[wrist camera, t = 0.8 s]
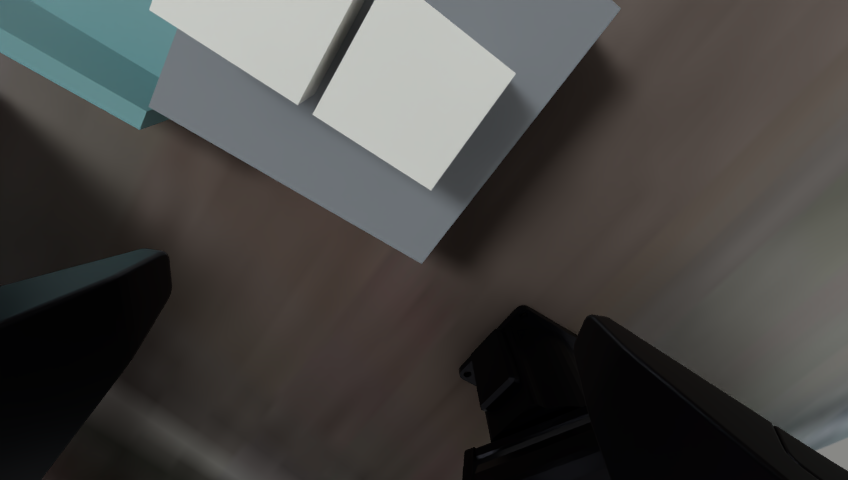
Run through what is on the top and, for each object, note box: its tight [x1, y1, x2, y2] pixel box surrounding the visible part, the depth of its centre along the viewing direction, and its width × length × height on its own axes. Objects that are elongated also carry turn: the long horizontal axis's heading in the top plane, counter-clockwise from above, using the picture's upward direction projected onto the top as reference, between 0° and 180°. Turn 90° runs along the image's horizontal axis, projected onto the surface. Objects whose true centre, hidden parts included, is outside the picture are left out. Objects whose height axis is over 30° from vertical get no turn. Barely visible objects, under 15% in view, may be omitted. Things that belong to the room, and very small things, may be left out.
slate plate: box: [148, 0, 621, 264], centre depth 16 cm, size 12×12×4 cm
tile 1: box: [312, 0, 516, 190], centre depth 14 cm, size 4×4×2 cm
